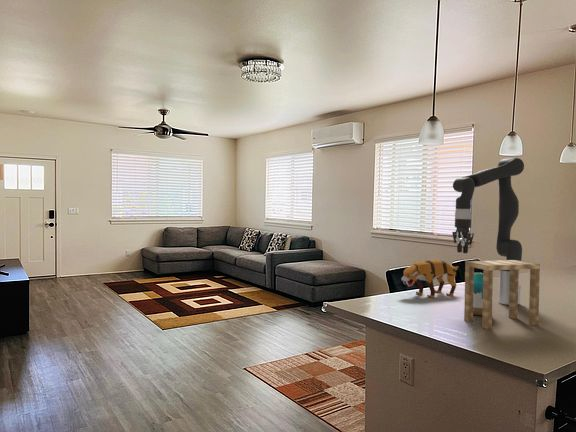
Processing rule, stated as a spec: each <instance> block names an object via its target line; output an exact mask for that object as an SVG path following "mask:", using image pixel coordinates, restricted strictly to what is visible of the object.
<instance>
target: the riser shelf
mask: <svg viewBox="0 0 576 432" xmlns="http://www.w3.org/2000/svg"><path fill="white" fill-rule="evenodd" d="M464 265H465V267H464V306H463V307H464V308H463V309H464V311H463V312H464V313H463V314H464V315H463V319H464V321H465V322H467V323H469V322H474V314H473V291H474V273H475V269H479V270H483V315H482V321H481V322H482V323H481V324H482V329H486V330H491V329H493V327H492V326H493V325H492V324H493V289H494V287H493V286H494V285H493V284H494V279H493V278H494V277H493V276H494V271H499V270H510V283H509V305H508V318H510V319H515V320H516V319H518V312H519V310H518V309H519V304H518V276H519V277H520V270H529V297H528V299H529V300H528V302H529V305H528V325H531V326H539V322H540V321H539V319H540V317H539V315H540V312H539V311H540V310H539V309H540V279H541V278H540V276H541V275H540V273H541V272H540V271H541V270H540V269H541V268H540V267H541V264H540V263H536V262H529V261H523V260H521V261H518V260H506V259H503V260H501V259H500V260H496V259H495V260H466V261H465V264H464Z"/></svg>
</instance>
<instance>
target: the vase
mask: <svg viewBox="0 0 576 432" xmlns="http://www.w3.org/2000/svg"><path fill="white" fill-rule="evenodd" d="M473 315H475V316H483V273H482V272H474V291H473Z"/></svg>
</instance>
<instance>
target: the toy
mask: <svg viewBox="0 0 576 432" xmlns="http://www.w3.org/2000/svg"><path fill="white" fill-rule="evenodd" d="M459 269H460V265H457V266H453V265H452V264H450V263H448V262H447V261H443V260H438V259H430V260H425V261H424V260H423V261H416V262H414V263H413V264H412V265H411V266H408V267H406V268H405V269H404V270H403V276H402V277H401V278H400V279H401V281H402V282H403V284H404V285H406V286H407V287H408V288H409V287H413V286H414V284H415V283H416V285H417V286H418V291H416V292H415V295H419V296H421V295H423V294H424V285H423V281H425V282H426V283H427V286H428V288H429V290H430V294H427V296H426V297H427V298H429V299H434V298H435V294H441V293H442V290H443V288H444V286H445V280H444V279H443V276H444V275H447V276H446V279H447V280H446V281H447V282H448V284H449V285H450V286H451V288H450V291H449V292H446V293H445V295H446V296H448V297H453V296H454V293H455V291H456V288H457V283H456V282H455V279H456V276H457V271H458V270H459ZM434 280H437V282H438V283H439V285H438V288H437V290H436V289H435V286H434Z"/></svg>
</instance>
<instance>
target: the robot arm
mask: <svg viewBox="0 0 576 432" xmlns="http://www.w3.org/2000/svg"><path fill="white" fill-rule="evenodd" d="M524 170H525V164H524V161H523V159H521V158H519V157H509V158H504V159H503V158H502V159H501V160H500V161H499V162H498V165H497V166H496V167H491V168H487V169H484V170H483V169H482V170H480V171H478V172H475V173H473V174H469V175H465V176H461V177H458V178H456V179H455V180H454V181H453V183H452V188H453V190H454V191H455V192H457V193H461V194H460V196H458V197H457V198H455V212H454V228H456V229H455V231H452V239H453V243H454V244H456V251H457V253H463V254H468V253H469V246H470V245H472V243H473V239H474V235H475V233H474V232H471V231H470V229H471V228H472V199H473V195H474V192H475V188H480V187H481V186H484V185H487V184H489V183H492V182H494V181H498V227H497V228H498V229H497V238H496V247H495V248H496V252H497V254H498V255H499V256H501V257H505V258H506V259H505V260H518V261H522V259H523V258H522V256H523V246H522V243H521V242H520V241H519V240H516V239H511V231H512V227H513V226H514V224H515V222H516V221H517V219H518V216H519V210H520V208H519V207H520V205H519V199H518V198H519V197H518V196H517V194H516V193H515V191H514V190H513V187H512V186H513V185H512V177H514V176H518V175H520V174H522V173H523V171H524ZM498 277H499V278H498V303H499V304H502V305H508V306H509V283H510V270H498ZM521 288H522V287H521V285H520V275H519V276H518V305H521V290H522V289H521Z"/></svg>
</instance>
